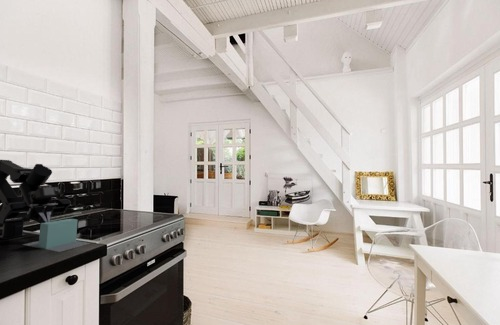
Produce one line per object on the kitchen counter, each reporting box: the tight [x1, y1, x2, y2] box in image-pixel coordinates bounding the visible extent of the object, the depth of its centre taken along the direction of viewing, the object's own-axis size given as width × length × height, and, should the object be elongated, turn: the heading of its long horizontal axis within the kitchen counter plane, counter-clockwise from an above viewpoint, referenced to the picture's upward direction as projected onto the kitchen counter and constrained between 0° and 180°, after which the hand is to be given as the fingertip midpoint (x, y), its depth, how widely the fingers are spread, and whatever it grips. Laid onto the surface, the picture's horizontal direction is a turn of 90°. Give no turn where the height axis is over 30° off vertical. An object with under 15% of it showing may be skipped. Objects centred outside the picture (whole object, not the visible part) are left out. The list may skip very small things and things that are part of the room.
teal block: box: [38, 218, 79, 250], centre depth 82 cm, size 4×10×8 cm, turn 161°
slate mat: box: [21, 240, 91, 253], centre depth 82 cm, size 19×10×1 cm, turn 71°
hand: (48, 225), depth 84 cm, fingers closed
